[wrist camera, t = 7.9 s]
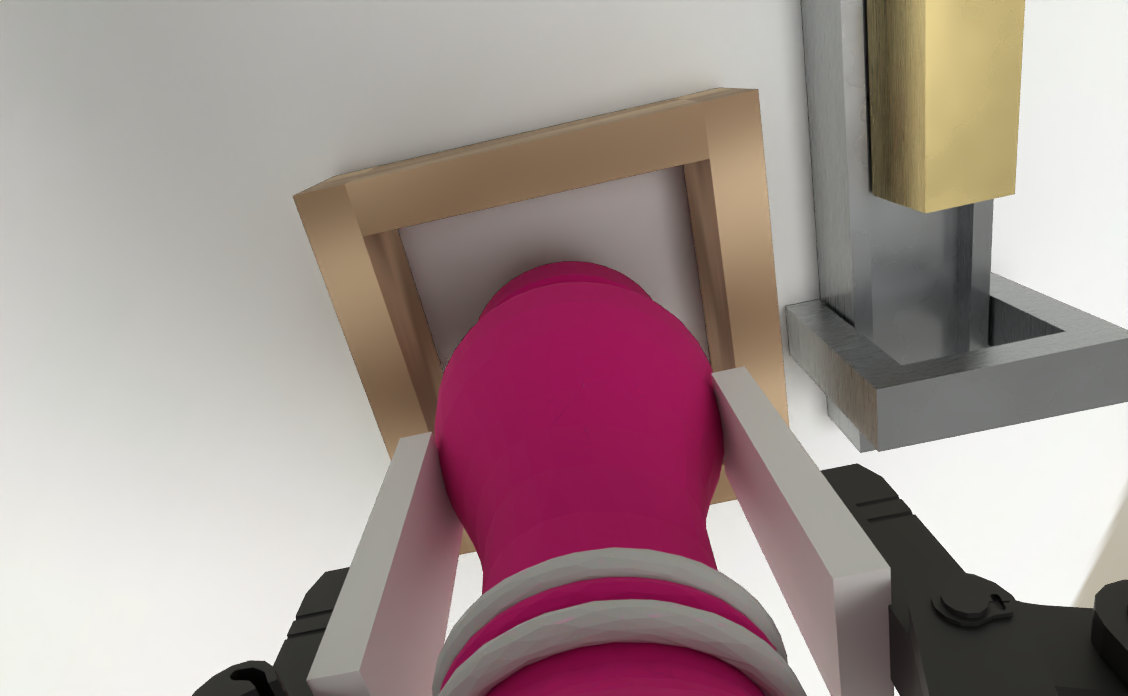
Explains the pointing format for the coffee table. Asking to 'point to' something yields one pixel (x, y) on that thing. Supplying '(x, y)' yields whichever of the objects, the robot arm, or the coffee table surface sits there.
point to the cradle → (538, 168)
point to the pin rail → (922, 290)
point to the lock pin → (944, 100)
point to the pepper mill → (592, 502)
